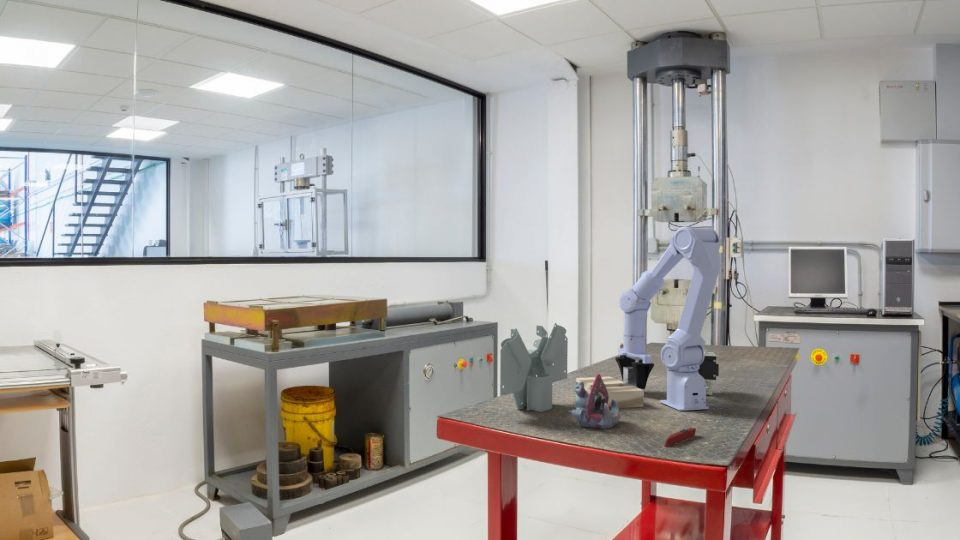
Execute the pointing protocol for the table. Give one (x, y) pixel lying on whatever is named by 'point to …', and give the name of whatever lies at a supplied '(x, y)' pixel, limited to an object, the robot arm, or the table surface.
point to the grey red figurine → (595, 406)
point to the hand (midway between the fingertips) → (633, 385)
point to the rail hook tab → (629, 376)
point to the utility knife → (680, 436)
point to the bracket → (533, 368)
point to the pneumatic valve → (709, 369)
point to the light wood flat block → (618, 391)
